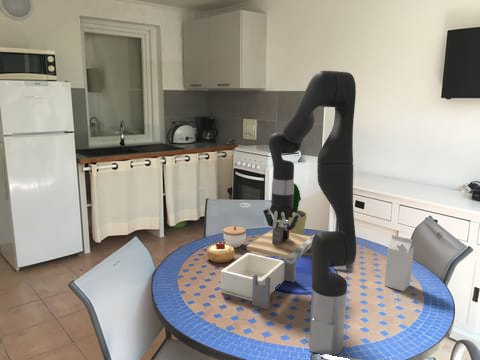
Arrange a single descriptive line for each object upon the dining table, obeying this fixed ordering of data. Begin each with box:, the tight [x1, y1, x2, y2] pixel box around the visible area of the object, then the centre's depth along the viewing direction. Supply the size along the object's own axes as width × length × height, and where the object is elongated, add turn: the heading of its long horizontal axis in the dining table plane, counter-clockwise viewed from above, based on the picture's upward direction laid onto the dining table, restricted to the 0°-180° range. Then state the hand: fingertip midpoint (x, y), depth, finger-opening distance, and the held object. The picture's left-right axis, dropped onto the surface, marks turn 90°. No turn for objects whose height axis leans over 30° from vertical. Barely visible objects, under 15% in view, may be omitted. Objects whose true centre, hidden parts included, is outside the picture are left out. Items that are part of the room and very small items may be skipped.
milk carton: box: [384, 234, 415, 292], centre depth 145 cm, size 7×7×19 cm
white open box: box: [220, 252, 297, 310], centre depth 143 cm, size 25×20×10 cm
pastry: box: [206, 238, 236, 264], centre depth 169 cm, size 12×12×9 cm
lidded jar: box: [223, 225, 247, 249], centre depth 185 cm, size 11×11×9 cm
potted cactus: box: [279, 183, 308, 235], centre depth 188 cm, size 15×15×30 cm
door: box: [246, 224, 316, 264], centre depth 137 cm, size 25×18×6 cm
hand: (280, 238), depth 138 cm, fingers closed on door, 2 cm apart
